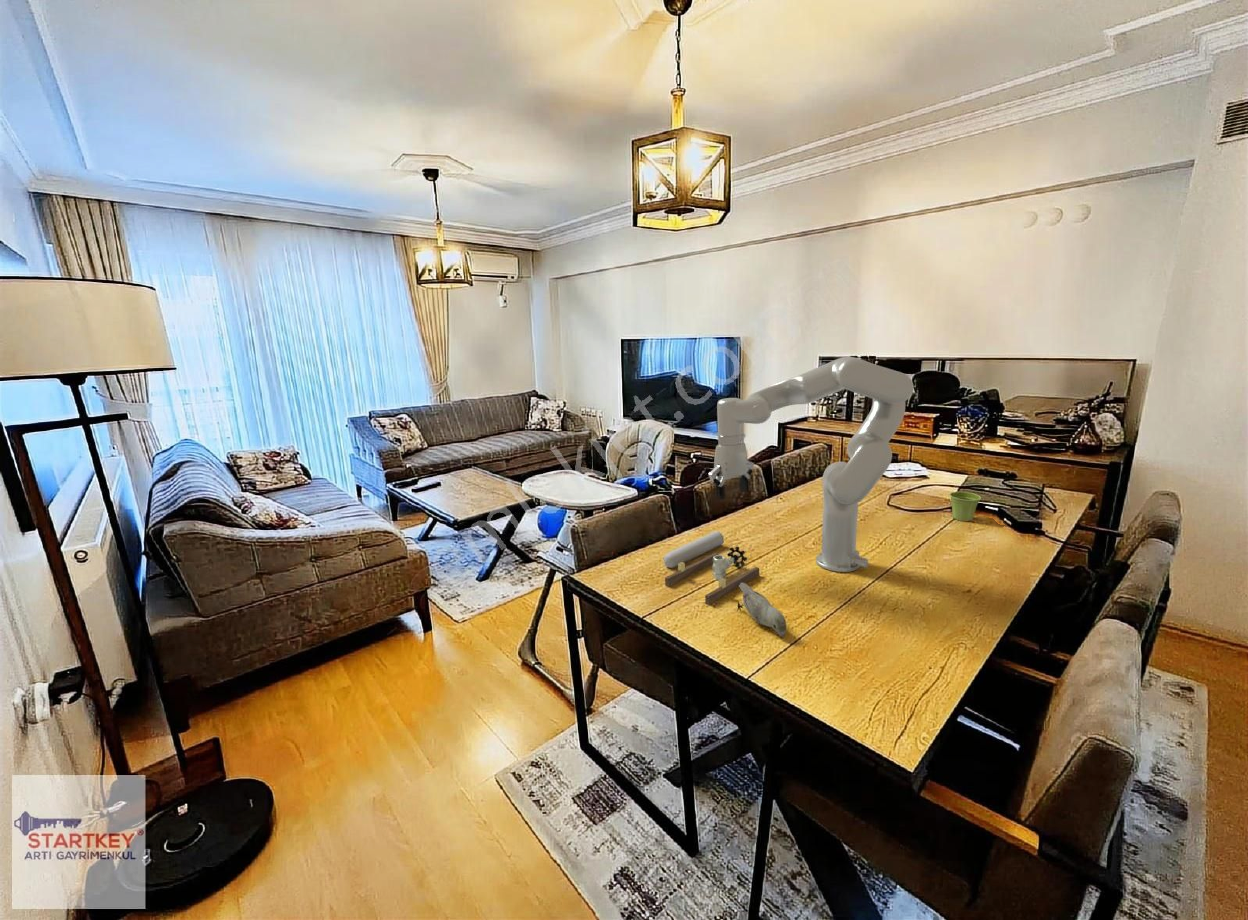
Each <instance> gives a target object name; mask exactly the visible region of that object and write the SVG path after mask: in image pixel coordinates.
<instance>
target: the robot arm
mask: <svg viewBox="0 0 1248 920" xmlns="http://www.w3.org/2000/svg"><path fill="white" fill-rule="evenodd" d="M842 390H848V391H850V392H852V393H854V394H857V395H861V396H864V397H865V398H866V397H867V398H869V399H872V405H871V409H870V411H869V413H868V414H867V416H866V418H865V419H864V420H863V422H862V424H860V426H859V428H858V429H857V430H856V432H855V433H854V434H853V436H852V437H851V438H850V440H848V443H847V445H846V453H847V456H848V457H849V458H850V459H849V460H848V462H845V461H835V462H833V463H831V464H829V465H828V466H827V467H826V468H825V470H824V472H823V474H822V497H823V499H822V502H823V503H822V505H823V506H822V527H821V528H822V534H821V552H820V553H818V554H817V555H816V556H815V563H816V564H817V565H818V566H820V567H821V568H823V569H825V570H829V571H832V572H838V573H849V572H854V571H857V570H859V569H860V568H865V569H867V568H868V567H869V561H868V560H869V559H868V558H867V557H862V556H861V555H860V550H857V549H856V548H857V532H858V515H859V514H858V513H859V503H860V502H862V501H863V500H864V499H865V498H866V497H867V495H869V494H870V492H871V491H872V489H874V487H875V486H876V485H877V484H878V482H879V481H880V480H881V478H882V476H883V475H884V474H885V473H886V471H887V470H888V469H889V467H890V464H891V462H892V460H893V452H892V451H893V450H892V448H891V446H890V444H889V442H890V441H891V439H892V438H893V436H894V435H895V433H896V432H897V430H898V429H899V427H900V425H901V423H903V422H902V421H903V419H904V417H905V413H906V412H905V411H906V401H907V400H909V398H910V397H911V396H912V394H913V391H914V383H913V380H912V379H911V378H910V376H909V375H908V374H906V373H903V372H901V371H897V370H894V369H891V368H889V367H884V366H881V365H878V364H875V363H872V362H869V361H866V360H864V359H861V358H858V357H854V356H842V357H839V358H836V359H834V360H831V361H829V362H828V363H825V364H823V365H820V366H818V367H816V368H814V369H812V370H809V371H807V372H804V373H802V374H799V375H796V376H794V377H790V378H788V379H786V380H783V381H781V382H778V383H775V384H772V385H769V386H767V387H765V388H762V389H760V390H758V391H756V392H753V393H752V394H750V395H748V396H747V397H746V398H745V399H740V398H738V397H728V398H727V397H725V398H722V399H719V400H718V401H717V405H716V409H717V411H716V412H717V413H716V416H717V442H718V444H717V445H716V447H715V452H714V459H713V460H714V461H713V468H712V470H711V471H709V472H708V477H709V479H710V482H712V483H713V485H714V486H715V496H716V498H717V499H720V500H725V497H726V495H725V493H726V492H725V486H724V484H725V482H726V481H727V480H729V479H733V478H737V477H739V490H740V492H741V491H742V492H744V493H749V492H750V490H749V489H750V488H749V485H750V484H749V480H750V479H751V475H752V473H753V468H754V467H755V462H752V461H750V460H749V459H748V451H747V447H746V442H745V438H746V434H745V433H744V432H745V430H744V427H745V426H744V424H751V425H752V424H754V425H759V424H760V425H761V424H763V423H766V422H767V421H768V420H769V419H770V417H771V415H772V412H775V411H777V410H780V409H782V408H785V407H789V406H795V405H807V404H811V403H814V402H816V401H819V400H821V399H823V398H826V397H828V396H831V395H832V394H833V395H834V394H836V393H838V392H841V391H842Z"/></svg>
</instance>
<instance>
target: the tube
mask: <svg viewBox="0 0 1248 920" xmlns="http://www.w3.org/2000/svg"><path fill="white" fill-rule="evenodd" d="M724 539H725V537H724V535H723V534H722V533H721V532H720V531H717V530H713V531H712V532H710V533H707V534H706V535H704V536H701V537H698V539H695V540H692V541H691V542H688V543H686V544H684V545H682V546H679V547H678V548H675V549H672V550H671V551H668V552H667V553H666V554H665V556H664V557H663V563H664V565H665V568H666V567H667V568H669V569H675V568H678V563H680V562H683V563H685V564H686V563H687V562H690V561H691V560H694V559H696V558H697V557H700V556H702V555H704V554H706V553H708V552H710V551H712V550H714V549H716V548H717V547H721V546H722V545H723V544H724Z"/></svg>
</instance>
